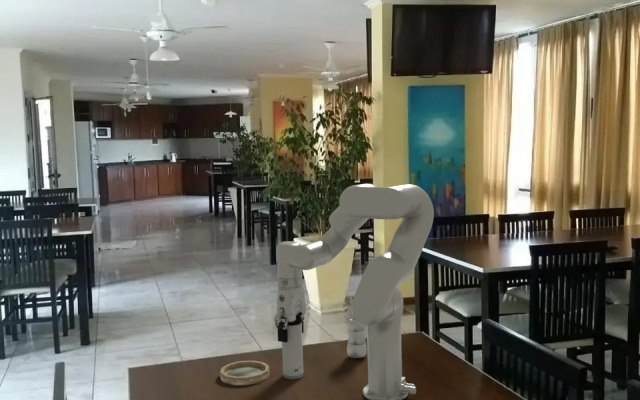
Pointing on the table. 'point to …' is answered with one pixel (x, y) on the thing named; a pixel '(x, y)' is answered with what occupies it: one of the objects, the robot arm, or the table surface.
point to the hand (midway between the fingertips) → (290, 337)
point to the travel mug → (293, 350)
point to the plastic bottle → (355, 335)
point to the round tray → (244, 372)
